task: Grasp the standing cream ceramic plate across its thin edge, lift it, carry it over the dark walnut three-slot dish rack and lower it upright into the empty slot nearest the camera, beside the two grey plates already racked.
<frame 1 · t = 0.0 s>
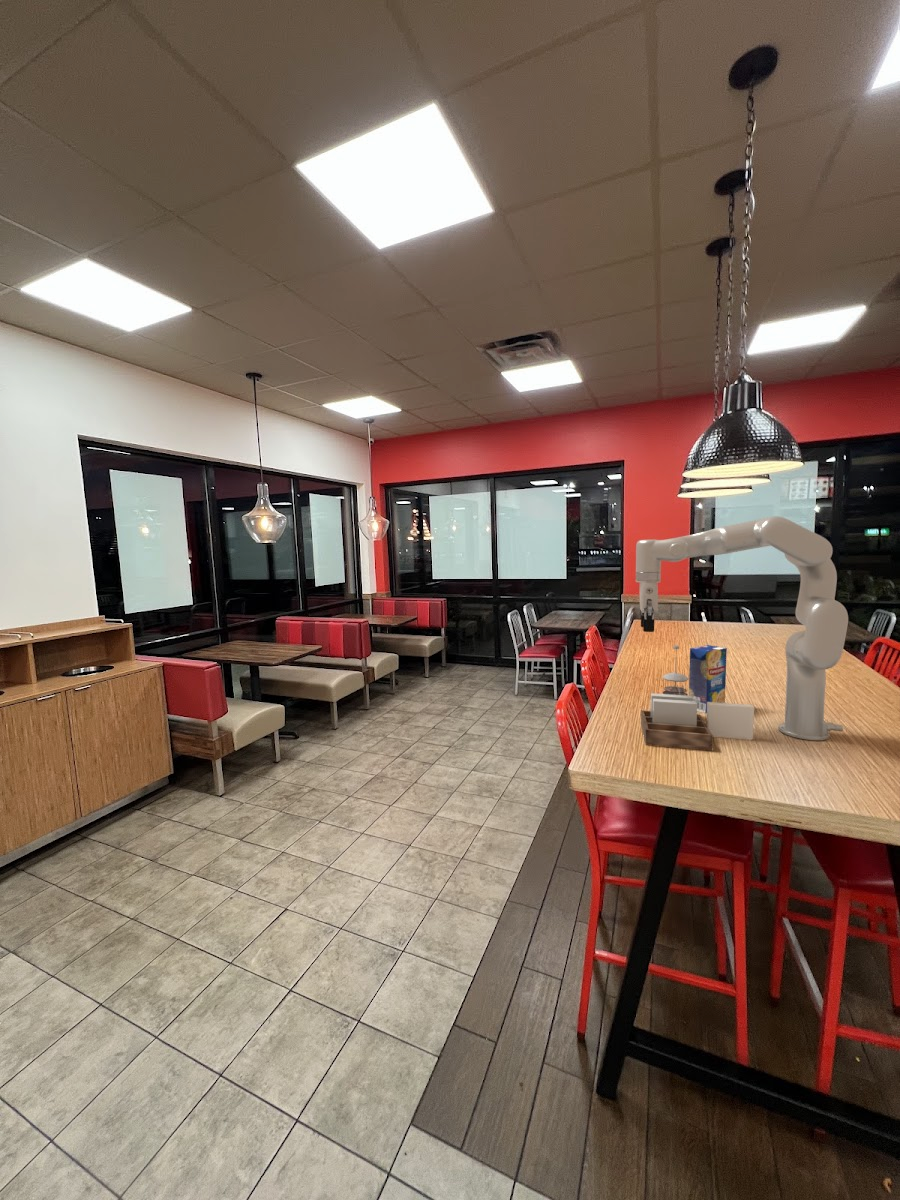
hand: (647, 629, 157), 31 cm above the table, tool pointing down, fingers open, 9 cm apart
french press: (675, 718, 162), on the table
rack: (673, 736, 146), on the table
racked plate mid: (674, 717, 145), in the rack, point 6 cm above the table
plate: (729, 736, 145), on the table
racked plate far: (671, 729, 152), resting on rack
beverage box: (706, 708, 171), on the table
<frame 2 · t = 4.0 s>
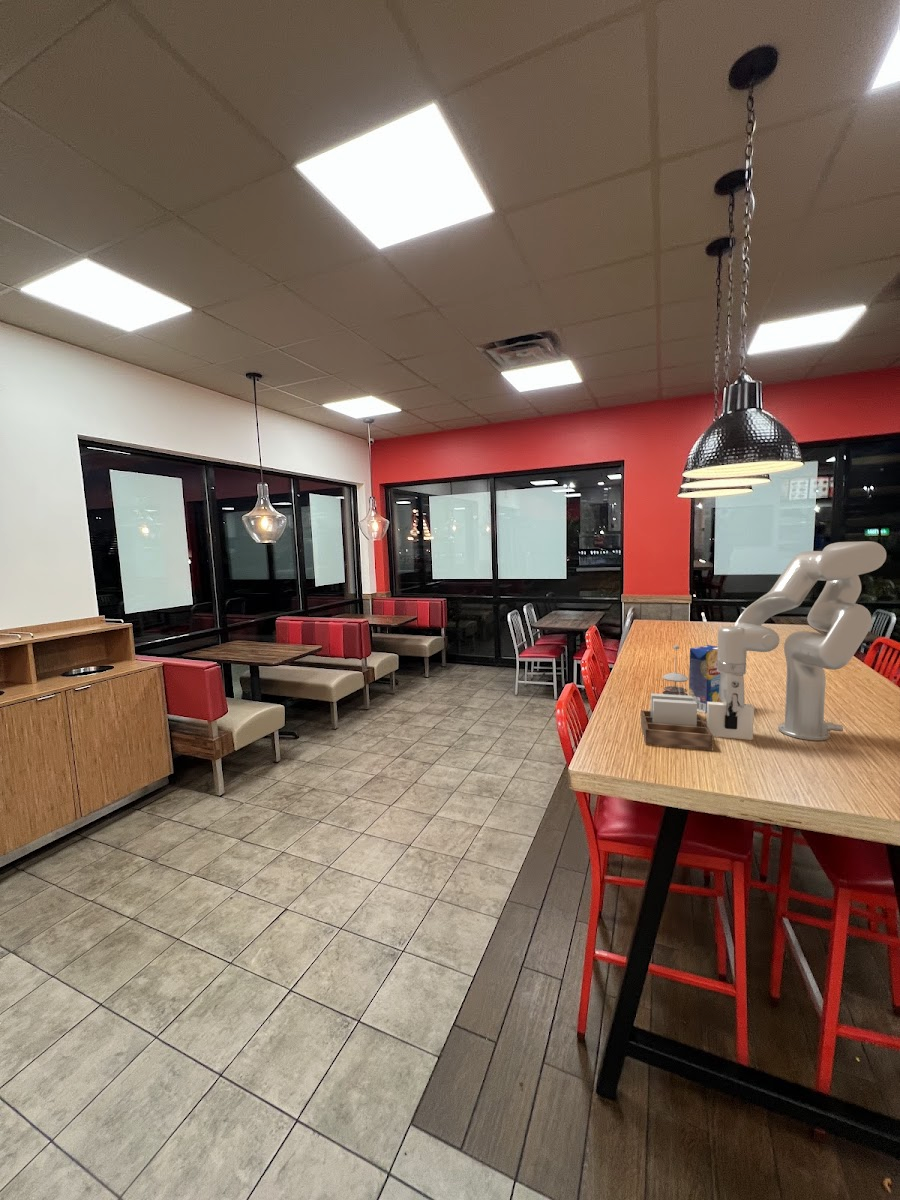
hand: (729, 725, 145), 3 cm above the table, tool pointing down, fingers closed on plate, 2 cm apart
plate: (728, 736, 145), on the table, touching gripper
everything else where it was.
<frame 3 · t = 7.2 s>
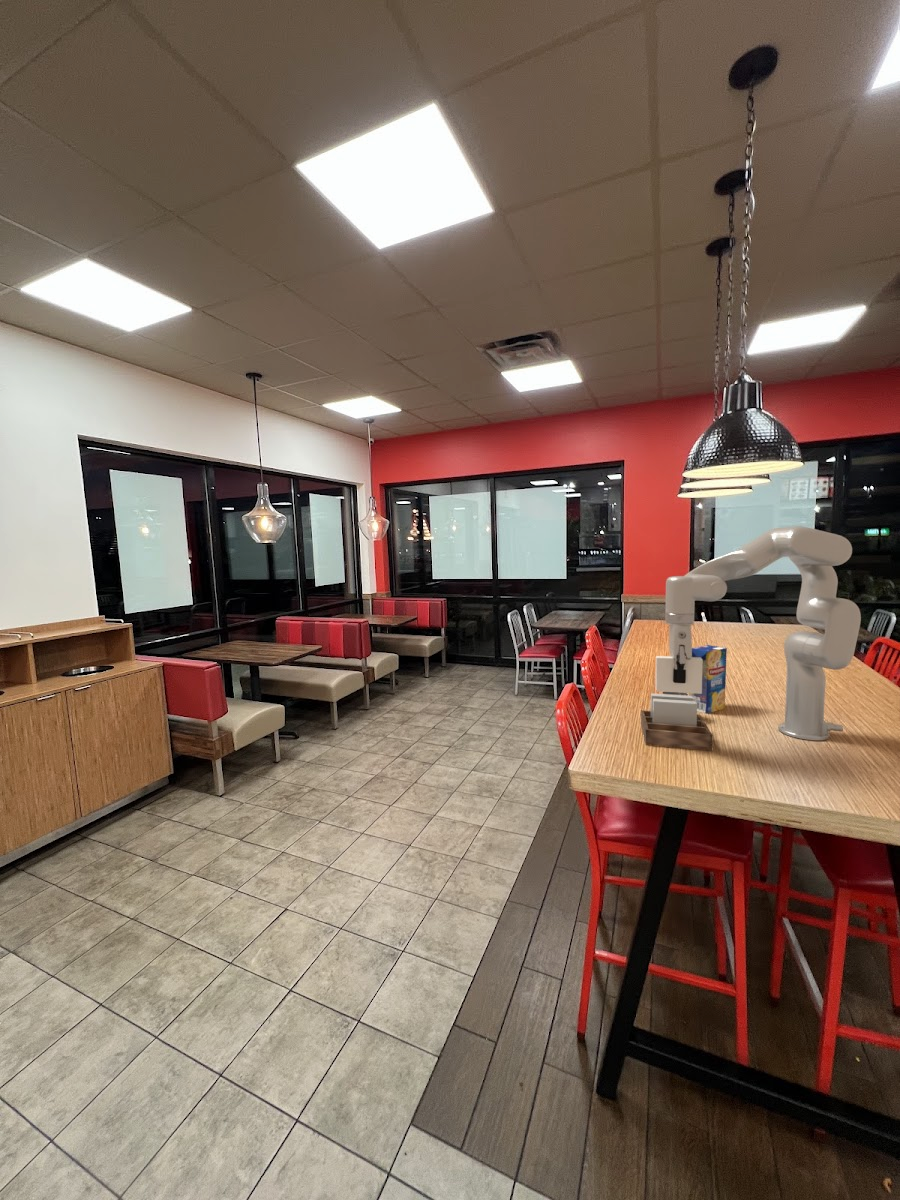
hand: (678, 680, 139), 19 cm above the table, tool pointing down, fingers closed on plate, 2 cm apart
plate: (678, 691, 139), point 16 cm above the table, touching gripper
everything else where it was.
when the fingers open (6 cm above the table, at t = 10.2 s): plate drops 2 cm, resting on rack.
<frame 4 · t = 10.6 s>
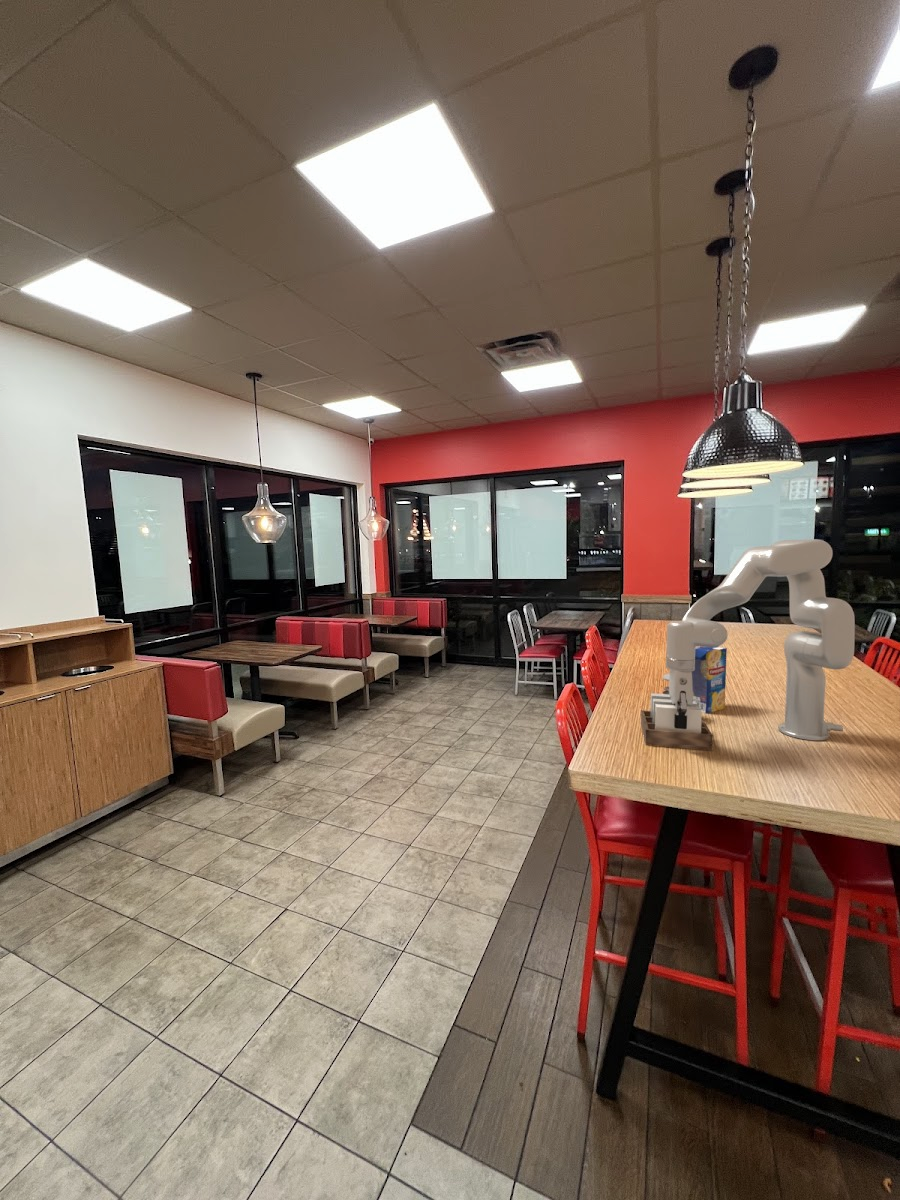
hand: (678, 723, 139), 6 cm above the table, tool pointing down, fingers open, 5 cm apart
plate: (677, 739, 140), point 1 cm above the table, touching rack
everything else where it was.
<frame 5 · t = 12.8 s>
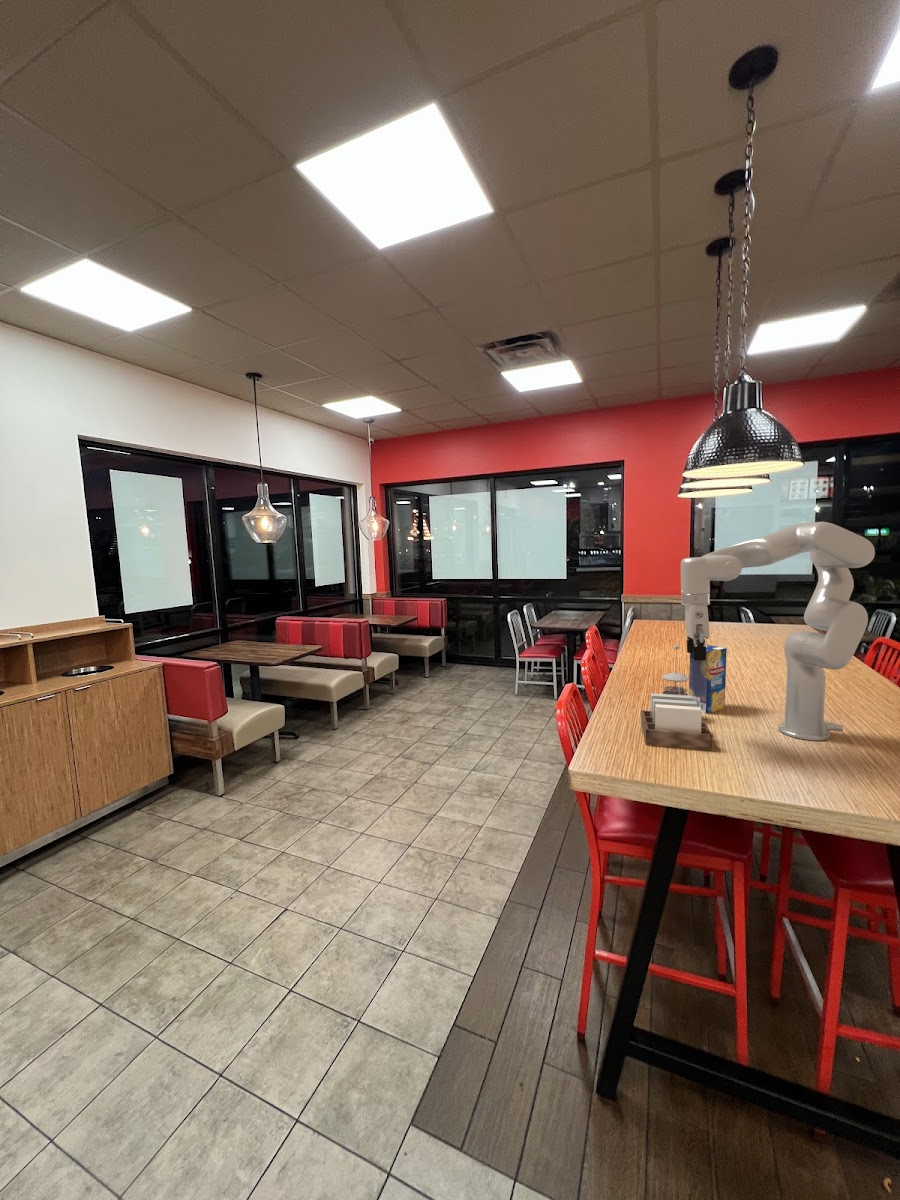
hand: (696, 656, 141), 25 cm above the table, tool pointing down, fingers open, 9 cm apart
nothing on the table moved.
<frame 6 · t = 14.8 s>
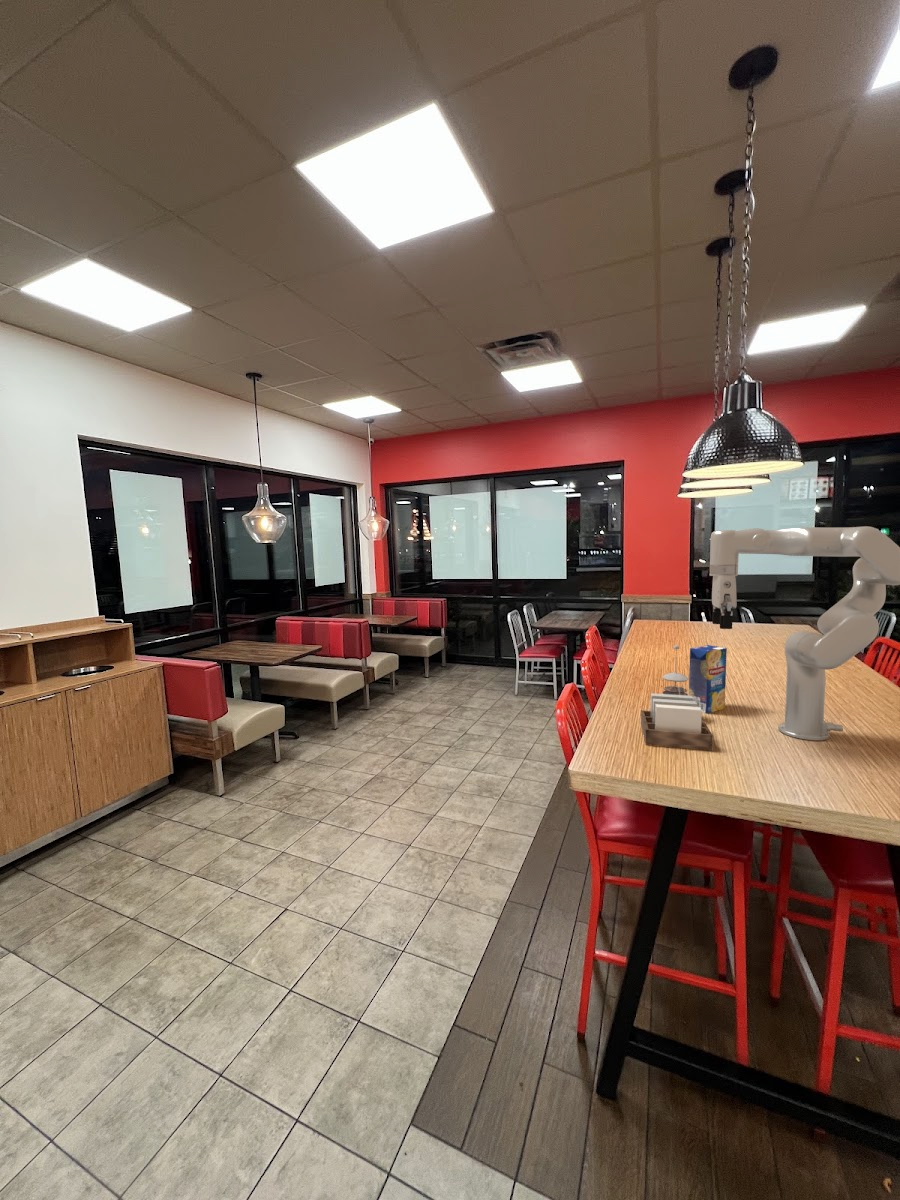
hand: (721, 626, 146), 33 cm above the table, tool pointing down, fingers open, 9 cm apart
nothing on the table moved.
at the end: plate inside the target area on the rack (0.2 cm from its centre), point 1.0 cm above the rack's base; plate tilted 0°; the gripper is holding nothing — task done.
